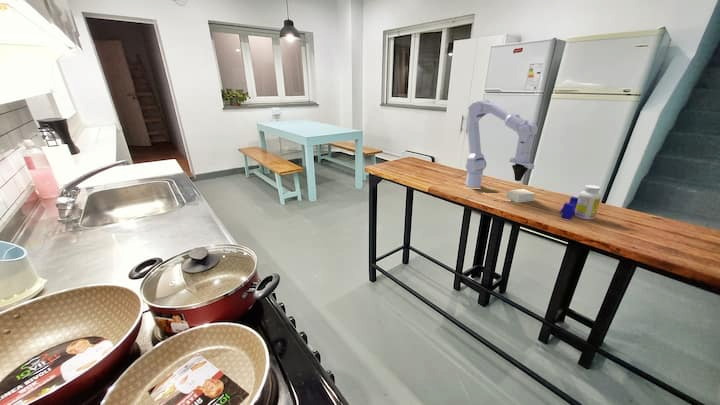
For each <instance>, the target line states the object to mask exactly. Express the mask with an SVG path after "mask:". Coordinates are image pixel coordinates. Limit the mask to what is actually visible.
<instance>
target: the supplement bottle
mask: <svg viewBox="0 0 720 405" xmlns="http://www.w3.org/2000/svg"><path fill="white" fill-rule="evenodd" d="M583 188H584V190H583V191H580V192H579V195H578V197H577V198H578V202H577V206H576V209H575V214H574V215H575V217H577V218H579V219H583V220H594V219H595V218H596V216H597V211H598V208H599V206H600V202H601V198H602V194H601V193H599V192H600V190H601V187H600V186H598V185H594V184H586V185H584V187H583Z"/></svg>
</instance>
